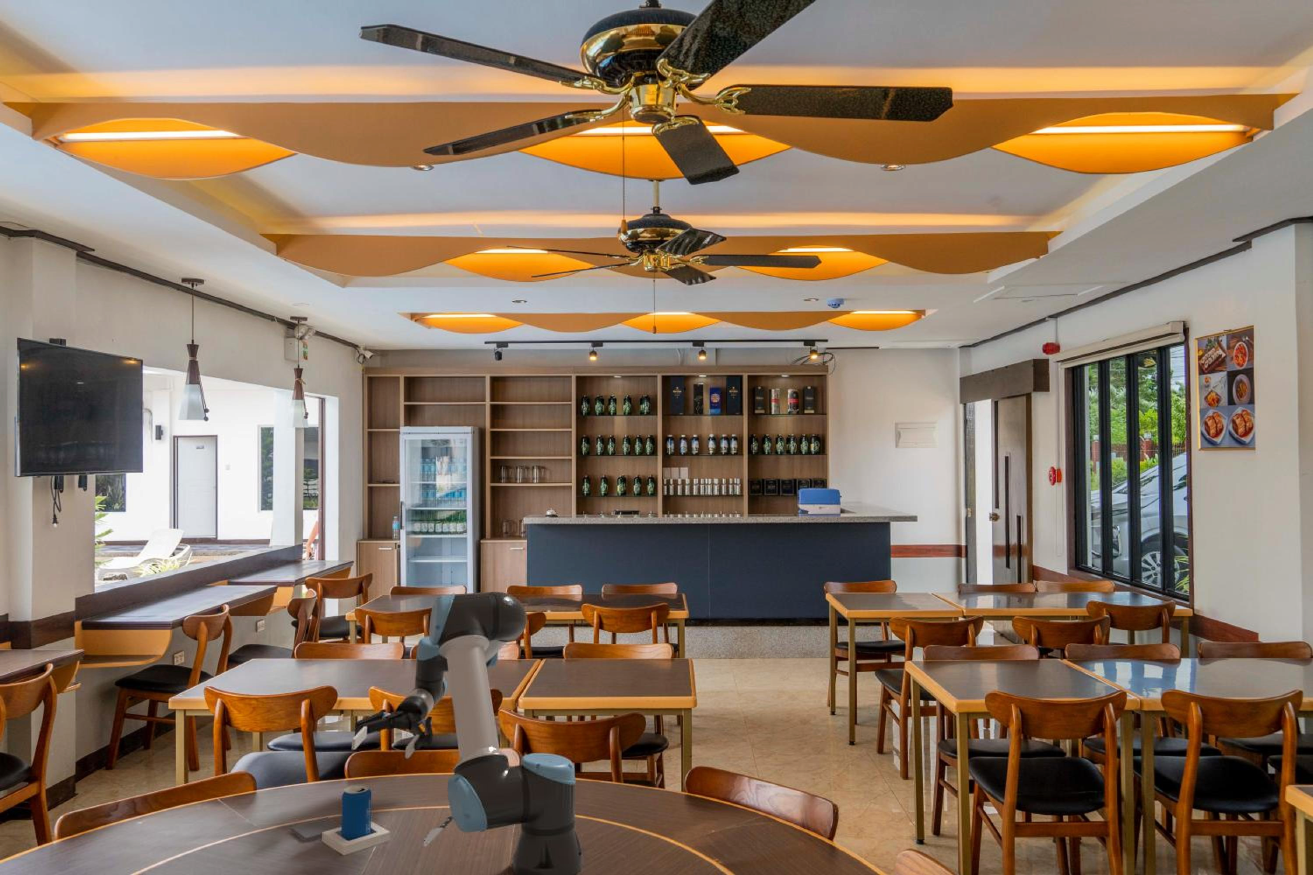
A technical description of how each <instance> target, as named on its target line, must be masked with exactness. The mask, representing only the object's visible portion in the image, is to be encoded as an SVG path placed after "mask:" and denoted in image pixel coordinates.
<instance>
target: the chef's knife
mask: <svg viewBox="0 0 1313 875" xmlns="http://www.w3.org/2000/svg"><path fill="white" fill-rule="evenodd" d="M452 820H453V817H452V815H451V816H450V815H449V816H448V817H447V818H446V821H445V822H444V823H442V824H441V825H440V826H439V827H436V828H431V829H432V830H429V832H428V833H429V834H426V836H427V837H426V836H425V837H426V838H425V837H424V838H423V841H424V840H425V841H424V842H422V845H423V847H427V846H428V845H429V844H430V843H431V842H433V840H435V839H436V838H437V836H439V835H440V834H441V832H442V831H443V830H444V829H445V828H446V827H447V826H448V825H449V824H450V823H451V822H452ZM447 824H448V825H447ZM446 825H447V826H446ZM445 826H446V827H445ZM443 828H444V829H443ZM442 829H443V830H442ZM423 843H424V844H423ZM426 843H428V844H426Z"/></svg>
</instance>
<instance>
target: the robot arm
mask: <svg viewBox="0 0 1313 875" xmlns="http://www.w3.org/2000/svg"><path fill="white" fill-rule="evenodd" d="M527 623H528V614H527V611H526V608H525V607H524V605H523V603H522V602H521V601H520V600H518V599H517V598H516V597H515V596H513V595H511V594H509V593H506V592H501V591H489V592H487V591H486V592H485V591H484V592H473V593H472V592H471V593H470V592H469V593H468V592H467V593H455V592H454V593H452V594H443V595H439V596H437V597H436V598H435V600H434V601H433V604H432V607H431V613H430V620H429V630H428V632H429V634H428V636H425V637H422V638H420V639H419V641H418V644H417V650H416V655H415V657H416V658H415V660H416V665H415V666H416V667H415V677H414V688H413V689H412V690H411V691H410V693H409V694H407V695H406V697H405V698H404V699H403V700H402V701H401V702H400V704H398V706H397V707H396V708H395V710H394V711H393V712H391V713H389V712H387V709H384V708H383V709H381V710H380V711H379V712H377V713H374V714H372V715H370V716H367V717H364V718H363V719H360V720H358V721H356V722H355V723H354V736H353V737H352V739H351V750H352V751H353V750H356V749H357V748H358V747H359V746H360V745H361V744H362V743H363V741H364V740H365V739H367V736H368V735H370V734H373V733H376V732H379V731H383V730H388V731H389V730H394V729H396V730H398V729H399V730H404V731H405V730H408V732H409V733H410V734H412V735H413V736H414V737H413V738H412V739H411V741H410V742H409V743H408V744H407V746H406V747H405V756H404V758H405V759H409V758H410V757H411V755H413V753H414V752H415V751H416V750H417V751H418V750H419V749H421V747H422V746H423V745H425V744H427V745H430V746H431V745H432V744H433V740H434V738H433V735H434V734H433V729H432V722H433V717H432V716H428V715H429V714H430V713H431V712H432V710H433V708H434V707H435V706H436V705H437V704H438V703H439V702H440V701H441V700H442V699H443V697H444V695H445V694H446V692H447V688H448V683H447V680H446V678H445V677H444V673H446V672H447V673H448V678H449V685H450V687H449V688H450V694H451V701H452V709H453V716H454V724H455V731H456V738H457V739H456V741H457V747H458V754H459V761H457V763H456V765H455V766H454V768H453V772H454V774H452V775H451V776H449V778H448V780H447V793H448V795H447V798H448V805H449V809H450V813H451V816H452V817H453V818H452V820H453V822H454V823H455V826H456V827H457V828H458V829H459V830H460V831H461V832H463V833H475V832H481V833H483V832H486V831H488V830H494V829H499V828H504V827H509V826H514V825H520V834H519V837H518V840H517V844H516V847H515V851H514V853H513V857H512V871H513V873H514V874H515V875H576V874H578V873H579V872H580V871H581V870H582V869H583V865H584V863H583V862H584V857H583V856H584V855H583V851H582V849H581V845H580V841H579V837H578V834H577V831H576V827H575V826H576V822H575V821H576V819H575V818H576V811H575V810H576V802H575V801H576V783H577V781H576V776H575V775H576V772H575V765H574V763H573V762H572V761H571V760H570V759H568V758H567V757H564V756H562V755H558V754H554V753H545V752H544V753H543V752H541V753H540V752H539V753H538V752H536V753H535V752H534V753H533V752H532V753H528V754H527V755H523V756H522V757H521V760H520V764H519V765H513V766H510V763H509V757H508V755H507V754H506V753H504V752H502V751H501V750H500V746H499V745H500V744H499V738H498V732H497V726H496V719H495V713H494V707H493V702H492V701H493V700H492V693H491V689H490V688H491V687H490V681H489V676H488V669H487V668H489V669H490V668H493V667H495V666H496V665H497V663H498V660H499V651H500V650H501V649H502V648H504V646H505V645H506V644H508V643H510V642H513V641H516V640H517V639H518V638H519V637H520V636H521V635H522V634H523V633H524V631H525V629H526V627H527ZM427 716H428V717H427ZM421 725H422V726H423V728H421V727H420V726H421ZM423 729H424V731H423Z"/></svg>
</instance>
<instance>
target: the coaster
mask: <svg viewBox="0 0 1313 875" xmlns="http://www.w3.org/2000/svg"><path fill="white" fill-rule="evenodd" d="M339 827H342V824H339V823H337V822H336V821H335V820H333V819H331V818H330V817H323V818H321V819H320V818H318V819H316V820H313V821H309V822H305V823H302V824H298V825H295V826H291V827H290V832H291V833H292V834H293V833H294V834H293V835H294V836H296V837H298V838H299V839H301V840H302V841H304V842H305V843H309V842H313V841H315V840H319V839H322V832H325V831H329V830H332V829H335V828H339Z"/></svg>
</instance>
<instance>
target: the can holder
mask: <svg viewBox="0 0 1313 875" xmlns="http://www.w3.org/2000/svg"><path fill="white" fill-rule="evenodd" d="M341 829H342V827H339V828H335V829H332V830H329V831H325V832H322V838H321V840H322V841H321V842H323V843H325V844H326V845H327V846H328V847H330V848H331V849H333V850H335V851H336V852H338V853H339V854H341V855H343V856H347V855H350V854H352V853H356V852H359V851H362V850H364V849H368V848H371V847H374V846H378V845H380V844H383V843H385V844H386V843H388V842H390V840H391V831H389V830H387V829H386V828H383V827H382V826H380V825H379V824H377V823H375V822H373V821H372V820H371V834H370V835H367V836H363V837H360V838H357V839H354V840H350V841H347V840H346V839H344V838H343V837H341Z"/></svg>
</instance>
